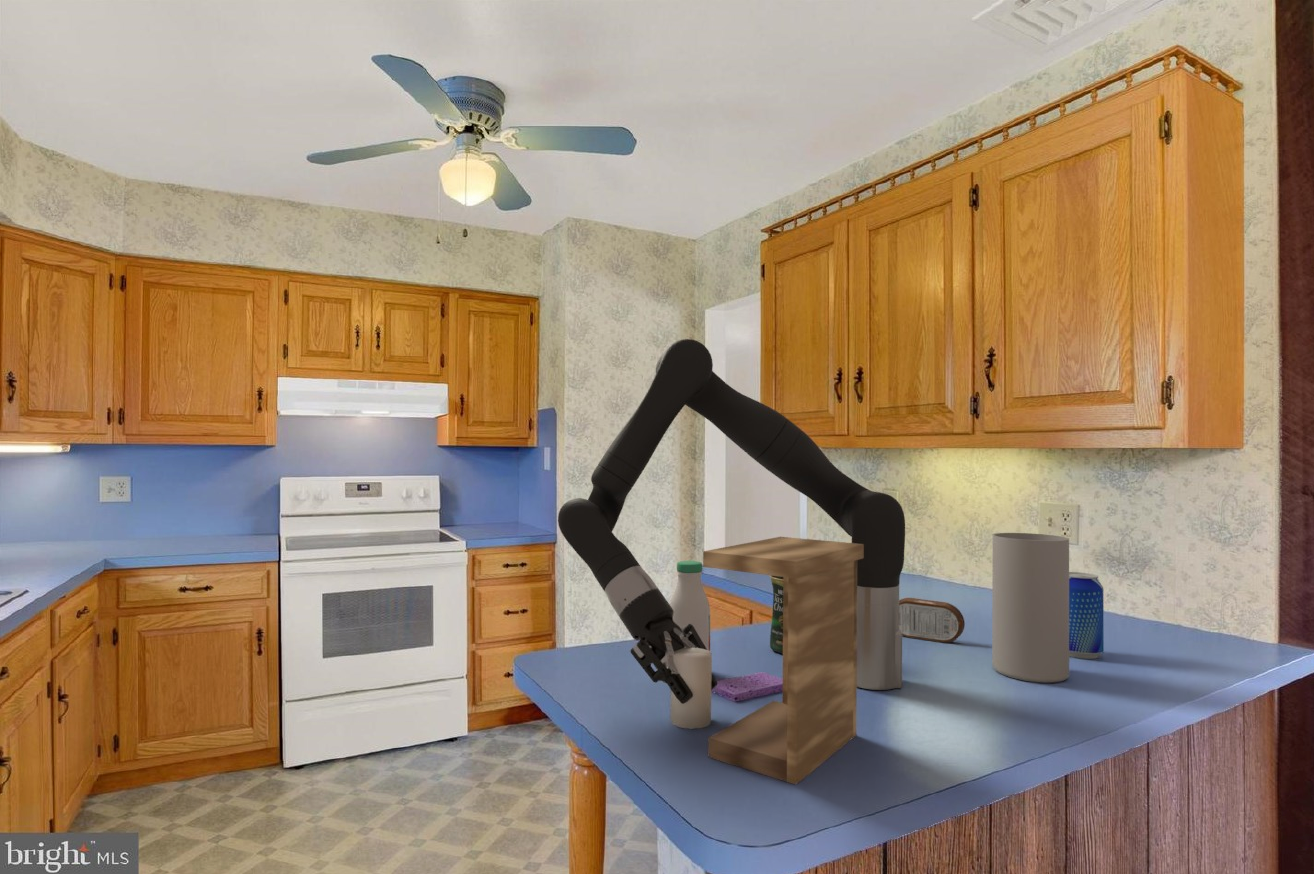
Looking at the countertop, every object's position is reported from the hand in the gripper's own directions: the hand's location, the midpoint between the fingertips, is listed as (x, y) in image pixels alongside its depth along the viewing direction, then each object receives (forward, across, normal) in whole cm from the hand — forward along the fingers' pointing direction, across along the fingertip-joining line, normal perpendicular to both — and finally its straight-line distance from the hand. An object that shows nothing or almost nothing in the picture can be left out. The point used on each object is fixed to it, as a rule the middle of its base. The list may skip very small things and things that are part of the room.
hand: (700, 693), depth 106 cm
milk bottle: (-7, +19, +14) cm, 24 cm away
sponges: (+2, +18, +5) cm, 19 cm away
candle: (+2, 0, +4) cm, 5 cm away
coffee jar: (-1, +43, +8) cm, 44 cm away
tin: (+11, +71, -5) cm, 72 cm away
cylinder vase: (+27, +58, -21) cm, 67 cm away
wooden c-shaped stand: (+13, 0, -7) cm, 15 cm away
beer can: (+31, +79, -25) cm, 88 cm away
